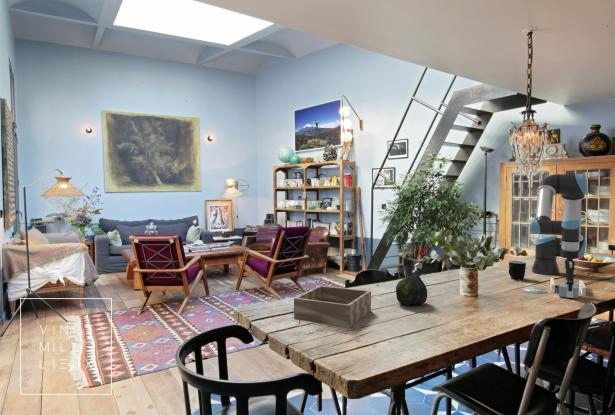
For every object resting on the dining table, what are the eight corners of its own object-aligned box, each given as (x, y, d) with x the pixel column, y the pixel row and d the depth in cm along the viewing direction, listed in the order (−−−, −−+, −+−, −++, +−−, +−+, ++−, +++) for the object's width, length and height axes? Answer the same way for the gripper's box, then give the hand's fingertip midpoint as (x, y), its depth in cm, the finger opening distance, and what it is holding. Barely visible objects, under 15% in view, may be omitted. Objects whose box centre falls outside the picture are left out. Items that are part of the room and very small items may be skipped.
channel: (550, 285, 236) (550, 277, 236) (582, 287, 229) (582, 280, 229) (551, 292, 220) (551, 284, 220) (585, 295, 213) (586, 287, 213)
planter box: (320, 304, 204) (320, 285, 204) (370, 310, 192) (370, 291, 192) (294, 319, 182) (293, 298, 181) (349, 327, 170) (349, 305, 170)
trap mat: (555, 285, 234) (555, 285, 234) (576, 287, 230) (576, 287, 230) (555, 287, 231) (555, 286, 231) (577, 289, 226) (577, 288, 226)
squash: (384, 291, 206) (402, 271, 198) (404, 287, 215) (421, 268, 207) (402, 315, 198) (421, 295, 190) (421, 310, 208) (440, 291, 200)
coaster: (523, 287, 232) (523, 286, 232) (546, 289, 227) (546, 288, 227) (522, 291, 223) (522, 290, 223) (547, 294, 217) (547, 292, 217)
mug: (514, 276, 258) (514, 260, 258) (528, 279, 251) (529, 262, 250) (502, 279, 252) (502, 262, 252) (516, 281, 245) (516, 264, 244)
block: (559, 292, 218) (560, 283, 217) (578, 295, 213) (578, 285, 213) (558, 296, 211) (558, 286, 211) (577, 298, 207) (578, 288, 206)
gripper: (560, 246, 222) (559, 289, 223) (562, 252, 203) (561, 299, 205) (577, 247, 218) (576, 291, 220) (581, 253, 200) (580, 301, 201)
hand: (569, 295), depth 212 cm, fingers closed on block, 8 cm apart
